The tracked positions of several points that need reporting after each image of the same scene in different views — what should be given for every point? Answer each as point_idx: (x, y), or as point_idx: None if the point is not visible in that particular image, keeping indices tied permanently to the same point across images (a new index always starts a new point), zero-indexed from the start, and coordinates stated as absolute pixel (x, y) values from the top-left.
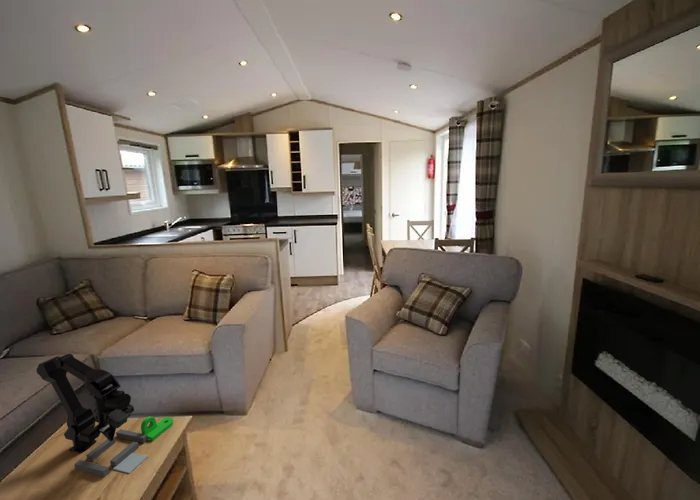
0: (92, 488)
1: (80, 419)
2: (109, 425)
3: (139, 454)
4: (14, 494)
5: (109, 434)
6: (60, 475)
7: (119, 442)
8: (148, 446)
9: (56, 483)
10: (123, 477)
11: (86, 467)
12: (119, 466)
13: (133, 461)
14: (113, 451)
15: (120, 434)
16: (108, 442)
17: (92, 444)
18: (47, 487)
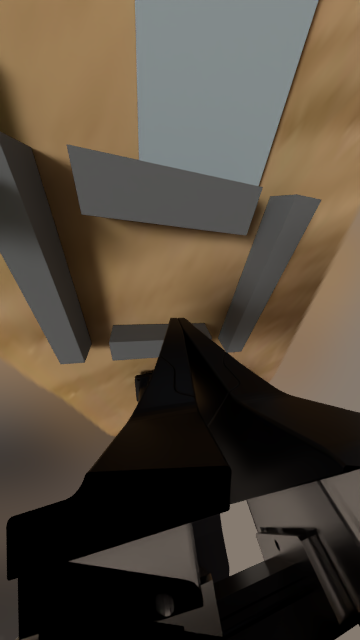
0: (337, 206)
1: (201, 548)
2: (189, 469)
3: (138, 50)
4: (275, 372)
5: (228, 361)
6: (245, 349)
7: (105, 315)
8: (21, 40)
9: (269, 337)
10: (342, 17)
11: (263, 307)
12: (246, 162)
13: (213, 48)
14: (152, 296)
15: (80, 340)
16: (141, 341)
17: (149, 374)
18: (276, 343)
